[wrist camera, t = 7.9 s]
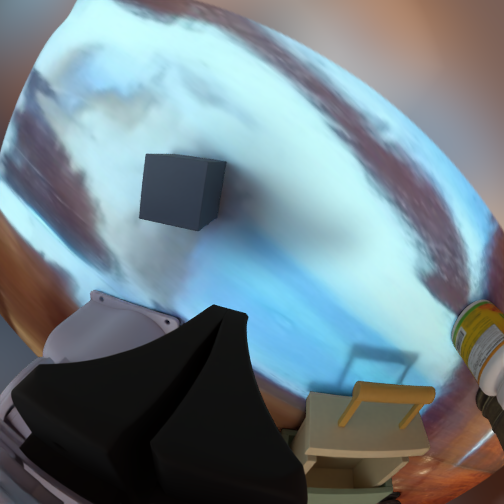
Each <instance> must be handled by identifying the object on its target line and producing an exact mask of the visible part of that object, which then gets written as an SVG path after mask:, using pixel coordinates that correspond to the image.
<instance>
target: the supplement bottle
mask: <svg viewBox="0 0 504 504" xmlns="http://www.w3.org/2000/svg"><path fill="white" fill-rule="evenodd" d="M452 342H453V345H454V347H455V348H456V350H457V351H458V353H459V354H460V356H461V357H462V359H463V360H464V362H465V363H466V365H467V367H468V368H469V370H470V371H471V373H472V375H473V376H474V378H475V380H476V381H477V383H478V385H479V386H480V388H481V390H482V391H483V392H484V393H485V394H486V395H488V396H497V400H498V402H499V404H500V405H501V407H502V409H503V410H504V314H503V313H502V312H501V311H500V310H499V309H498V308H497V307H496V306H495V305H494V304H493V303H491V302H490V301H488V300H478V301H475V302H473V303H471V304H470V305H469V306H467V307H466V308H465V309H464V310H463V311H462V313H461V314H460V315H459V317H458V318H457V320H456V322H455V324H454V327H453V330H452Z"/></svg>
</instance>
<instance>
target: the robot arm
mask: <svg viewBox="0 0 504 504" xmlns="http://www.w3.org/2000/svg"><path fill="white" fill-rule="evenodd" d="M90 297H91V300H90V301H89V302H88V303H86V304H85V305H84V306H82V307H81V308H80V309H78V310H77V311H76V312H75V313H73V314H72V315H71V316H70V317H68V318H67V319H66V320H64V321H63V322H62V323H61V324H59V325H58V326H57V327H56V328H55V329H54V330H53V331H52V332H51V334H50V335H49V337H48V339H47V341H46V343H45V346H44V350H43V357H39V358H37V359H35V360H34V361H33V362H32V363H30V364H29V365H28V366H27V367H26V368H25V369H23V370H22V371H21V372H20V373H19V374H18V375H17V376H16V377H15V378H14V379H13V380H12V381H11V383H10V384H9V385H8V386H7V387H6V388H5V389H4V391H3V392H2V393H1V395H0V504H307V503H308V491H307V482H306V476H305V471H304V467H303V465H302V463H301V462H300V461H299V459H298V458H297V457H296V456H295V454H294V453H293V452H292V450H291V449H290V447H289V446H288V444H287V443H286V441H285V440H284V438H283V437H282V435H281V433H280V432H279V430H278V429H277V427H276V425H275V423H274V421H273V419H272V417H271V415H270V413H269V411H268V409H267V407H266V405H265V403H264V401H263V398H262V396H261V393H260V391H259V388H258V385H257V382H256V379H255V376H254V373H253V369H252V365H251V361H250V356H249V350H248V343H247V321H248V315H247V314H246V313H243V312H239V311H235V310H232V309H228V308H224V307H221V306H217V305H214V304H213V305H212V306H210V307H208V308H207V309H205V310H204V311H203V312H201V313H200V314H198V315H197V316H195V317H194V318H192V319H191V320H189V321H188V322H186V323H184V324H183V325H181V326H180V327H179V325H180V323H179V320H178V319H177V318H175V317H172V316H169V315H166V314H163V313H159V312H156V311H153V310H150V309H147V308H144V307H141V306H138V305H135V304H132V303H129V302H127V301H124V300H121V299H118V298H115V297H113V296H110V295H107V294H104V293H102V292H99V291H96V290H93V291H91V293H90ZM167 320H169V321H170V323H169V322H167Z"/></svg>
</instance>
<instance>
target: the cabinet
mask: <svg viewBox="0 0 504 504" xmlns="http://www.w3.org/2000/svg"><path fill="white" fill-rule="evenodd" d="M297 432H298V431H296V430H289V429H282V431H281V435H282V437H283V438H284V440H285V441H286V443H287V444H288V446H290V444H291V442H292V441H293V439H294V437H295V435H296V434H297ZM307 491H308V503H307V504H376V503H378V502H379V501H381V500H382V499H384V498H385V497H387V496H388V495H389V494H391V493H392V492H393V487H392V479H391V478H390V479H388V480H387V481H386V482H385V483H383V484H382V485H381V486H380V487H378V488H358V489H332V488H311V487H307Z"/></svg>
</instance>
